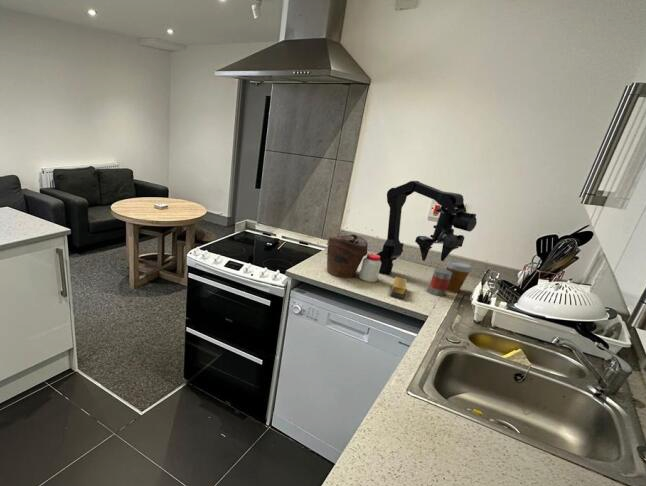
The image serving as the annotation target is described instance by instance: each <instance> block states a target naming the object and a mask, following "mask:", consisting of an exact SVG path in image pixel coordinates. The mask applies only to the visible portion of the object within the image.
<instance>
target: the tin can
mask: <svg viewBox="0 0 646 486" xmlns="http://www.w3.org/2000/svg"><path fill="white" fill-rule="evenodd" d="M446 269H447V268H438V267H437V268H434V269H433V270H434V271H433V274H432V276H431V279H430V283H429V285H428V289H427V292H428V293H430V294H431V295H435V296H439V297H443V296H445V295H446V293H447V291H448V290H447V288H448V285H449V282H450V279H451V276H452V272H451V271H449V270H446Z"/></svg>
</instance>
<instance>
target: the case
mask: <svg viewBox="0 0 646 486" xmlns="http://www.w3.org/2000/svg"><path fill="white" fill-rule="evenodd" d="M326 246H327V250H326V254H325V256H326V271H327V273H329V274H331V275H334V276H337V277H341V278H352V277H353V278H354V277H355V276H356V273H357V271H358V269H359V267H360V264H361V263H362V262H363V259H364V258H365V257H367V254H368V241H367V240H366V239H365V238H363V237H362V236H361V235H357V234H345V235H337V236H329V237H328V240H327V243H326Z"/></svg>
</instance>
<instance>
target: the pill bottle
mask: <svg viewBox="0 0 646 486" xmlns="http://www.w3.org/2000/svg"><path fill="white" fill-rule="evenodd" d="M376 254H377V253H367V255H366V256H365V257H364V258H363V259H362V262H361V263H362V264H361V266H360V267H361V268H360V271H359V275H358V277H359V279H360V280H363V281H365V282H371V283H372V282H373V283H375V282H377V281H378V278H379V274H380V273H379V271H380V267H381V261H380V256H379V255H376Z"/></svg>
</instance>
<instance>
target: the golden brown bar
mask: <svg viewBox="0 0 646 486" xmlns="http://www.w3.org/2000/svg"><path fill="white" fill-rule="evenodd" d="M406 288H407V278H402V277H398V276H395V277H394V280H393V283H392V288H391V293H390V297H393V298H397V299H401V300H403V298H404V295H405V291H406Z"/></svg>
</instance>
